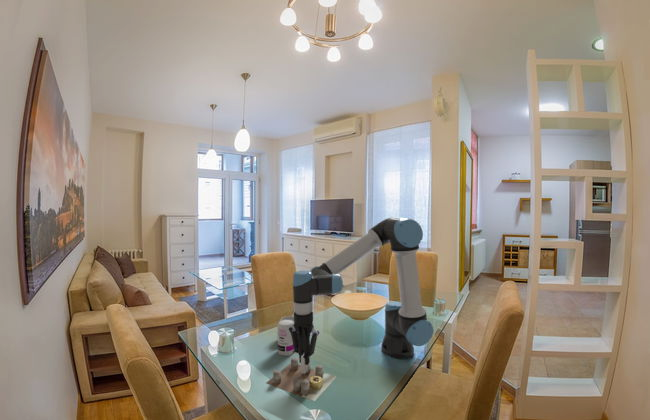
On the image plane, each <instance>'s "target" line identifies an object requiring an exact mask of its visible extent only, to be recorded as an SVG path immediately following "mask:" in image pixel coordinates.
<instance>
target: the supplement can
mask: <svg viewBox="0 0 650 420" xmlns="http://www.w3.org/2000/svg"><path fill="white" fill-rule="evenodd" d="M293 325H294V321H293V320H290V319H284V320H281V321H280V320H279V322H278V323H277V354H278V355H279V356H282V357H283V356H284V357H285V356H286V357H287V356H288V357H289V356H293V355H294V354H296V353H295V350H294V346H293V341H292V336H291V333H290V331H289V328H290V327H291V326H293Z"/></svg>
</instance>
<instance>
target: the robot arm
mask: <svg viewBox="0 0 650 420" xmlns="http://www.w3.org/2000/svg"><path fill="white" fill-rule="evenodd" d="M423 235H424V232H423V229H422V226H421V225H420V224H419V222H417V221H416V220H414V219H413V218H407V217H396V216H395V217H394V216H391V217H388V218H385V219H383V220H382V221H380V222H378V223H376V224H375V225H374V226H373V227H371V228H369V229H368V232H367V233H366V234H365V235H363V236H362V237H361V238H359V239H358V240H356V241H355V242H353V243H351V244H350V245H349V246H348V247H346V248H344V249H343V250H342V251H340V252H338V253H337V254H335V255H334V256H333V257H331V258H330V259H328V260H326V261H325V262H324V263H322V264H321V265H320V266H314V267H311V269H310V270H298V271H296V272H294V273H293V276H292V293H293V294H292V297H293V300H292V301H293V317H294V322H295V323H294V325H293V326H291V327H290V328H289V331H290V333H291V336H292V341H293V346H294V350H295V353H294V354H298V356H299V357H298V363H299V364H300V365H301V373H303V374H305V373H306V372H307V371H308V364H309V362H310V363H311V361H310V357H311V356H313V355H314V354H315V351H316V344H317V338H318V336H319V334H320V331H319V330H316V329H315V326H314V301H313V300H314V299H313V297H314V296H322V295H323V296H324V295H330V294H331V295H335V294H337V293H338V294H340V293H341V292H342V291H343V285H344V284H343V283H344V282H343V278H342V276H341V273H342V272H343V271H345V270H347V268H350V267H351V266H352V265H354V264H355V263H356V262H358V261H359V260H361V259H362V258H364V257H365V256H367V255H368V254H369V253H370V252H372V251H374V250H376V249H377V248H382V247H383V246H385V245H387V244H390V251H391V252H392V253H393V254H394V255H395V265H396V271H397V280H398V282H397V283H398V289H399V291H398V292H399V300H400V301H390V302H387V303H386V304H385V307H384V330H385V331H384V336H383V339H382V341H381V352H382V353H383V354H384V355H385V356H387V357H390V358H393V359H398V360H399V359H400V360H402V359H403V360H404V359H409V358H412V357H413V356H414V354H415V347H422V346H425V345H427V344H428V343H429V342H430V340H431V339H432V338H433V335H434V326H433V324H432V323H431V321H429V320H428V318H427V317H428V316H427V309H425V307H423V305H422V296H421V295H422V294H421V288H420V287H421V286H420V278H419V269H418V260H417V252H418V251H419V249H420V244H421V242H422V240H423Z"/></svg>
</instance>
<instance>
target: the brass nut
mask: <svg viewBox="0 0 650 420" xmlns="http://www.w3.org/2000/svg"><path fill="white" fill-rule="evenodd" d="M309 386H310V388H311V389H312V390H319V389H320V388H321V387H322V386H323V379H322V378H321V377H320V376H312V377H311V378H310V379H309Z"/></svg>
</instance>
